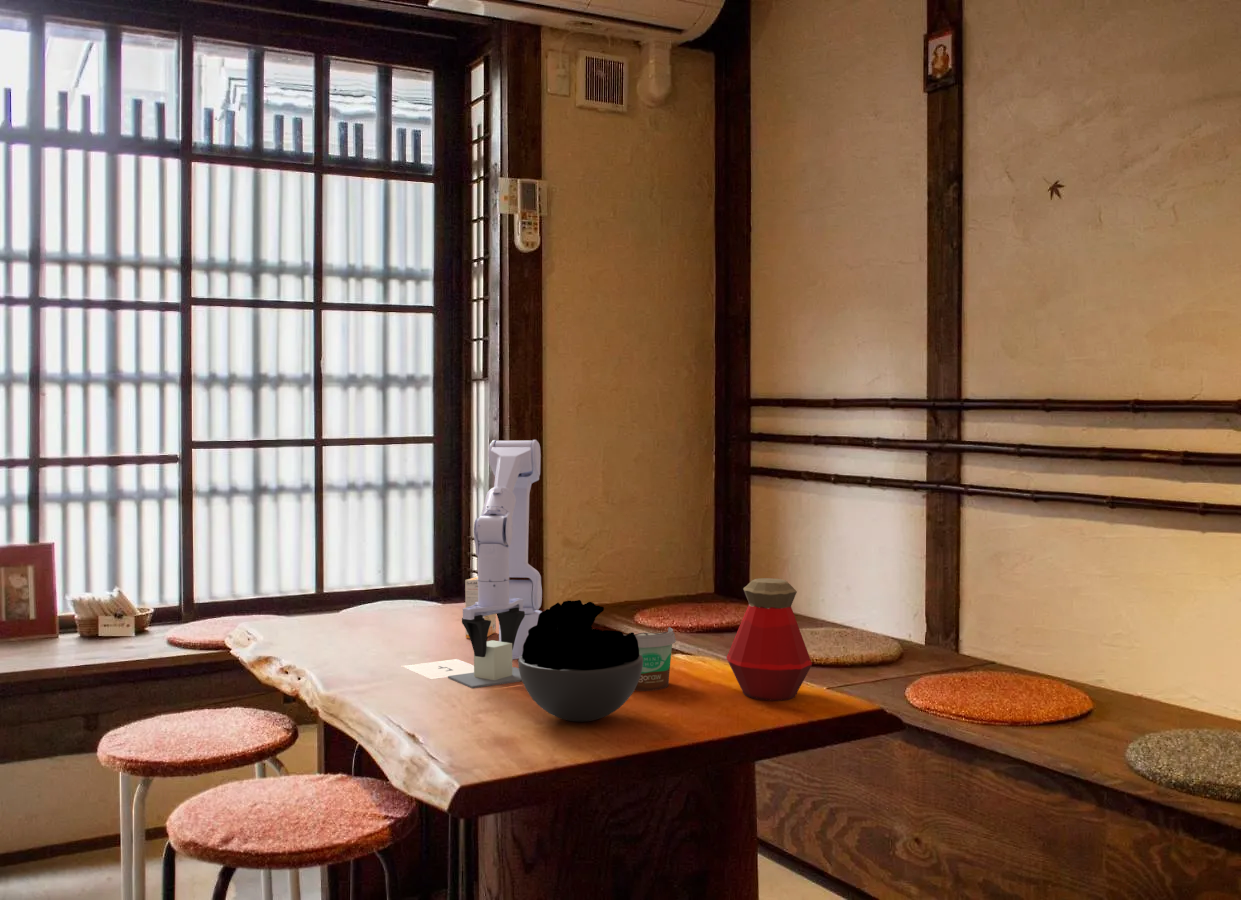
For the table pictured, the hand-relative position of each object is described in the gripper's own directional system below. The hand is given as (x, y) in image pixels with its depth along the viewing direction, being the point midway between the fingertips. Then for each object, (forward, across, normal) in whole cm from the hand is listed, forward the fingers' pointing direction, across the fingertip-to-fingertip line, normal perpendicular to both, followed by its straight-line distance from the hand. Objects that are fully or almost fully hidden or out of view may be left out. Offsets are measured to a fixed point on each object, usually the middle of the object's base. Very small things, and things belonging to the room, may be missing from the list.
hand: (494, 652), depth 216 cm
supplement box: (+5, -31, -32) cm, 45 cm away
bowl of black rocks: (+5, +14, +31) cm, 35 cm away
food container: (+5, -11, +28) cm, 30 cm away
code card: (+5, -1, -14) cm, 14 cm away
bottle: (+5, -18, +48) cm, 51 cm away
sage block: (+4, 0, 0) cm, 4 cm away
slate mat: (+5, 0, 0) cm, 5 cm away
